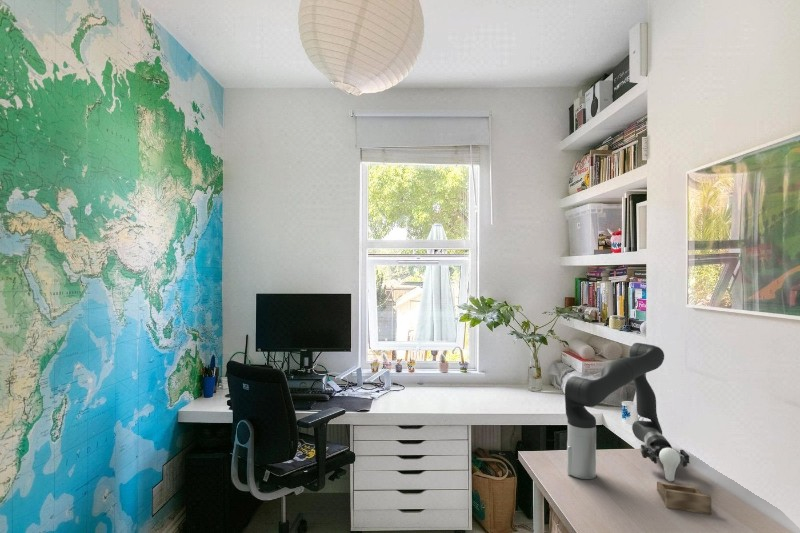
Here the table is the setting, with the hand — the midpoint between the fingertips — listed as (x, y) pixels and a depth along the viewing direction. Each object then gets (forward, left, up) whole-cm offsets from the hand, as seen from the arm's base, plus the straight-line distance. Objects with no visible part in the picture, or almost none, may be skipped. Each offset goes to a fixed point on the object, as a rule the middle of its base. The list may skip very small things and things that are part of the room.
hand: (669, 462), depth 146 cm
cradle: (0, -14, -7) cm, 15 cm away
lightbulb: (0, 0, -7) cm, 7 cm away
